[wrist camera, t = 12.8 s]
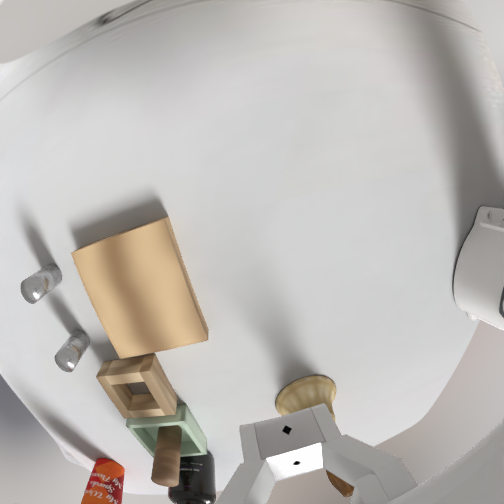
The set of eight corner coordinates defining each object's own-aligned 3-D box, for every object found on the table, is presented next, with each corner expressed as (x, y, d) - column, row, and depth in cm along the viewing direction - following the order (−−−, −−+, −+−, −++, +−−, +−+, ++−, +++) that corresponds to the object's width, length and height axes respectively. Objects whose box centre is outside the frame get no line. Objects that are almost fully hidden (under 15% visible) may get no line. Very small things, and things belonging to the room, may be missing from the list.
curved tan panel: (169, 215, 24) (164, 219, 22) (208, 327, 27) (208, 340, 25) (82, 246, 24) (71, 253, 21) (126, 346, 27) (120, 358, 25)
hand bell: (296, 368, 30) (344, 479, 15) (347, 380, 32) (402, 469, 16) (264, 412, 31) (289, 515, 16) (313, 420, 33) (350, 507, 18)
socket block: (155, 354, 27) (150, 370, 24) (177, 397, 29) (175, 414, 26) (103, 361, 27) (96, 376, 24) (129, 402, 28) (124, 418, 26)
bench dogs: (57, 261, 23) (32, 277, 18) (93, 346, 26) (77, 371, 21) (42, 266, 23) (17, 282, 18) (78, 348, 26) (62, 372, 21)
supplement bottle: (192, 441, 32) (192, 509, 20) (222, 458, 33) (228, 519, 22) (162, 453, 32) (156, 514, 20) (192, 469, 34) (193, 526, 22)
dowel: (176, 421, 29) (171, 475, 21) (185, 434, 30) (182, 486, 22) (155, 422, 29) (146, 475, 20) (164, 435, 30) (158, 486, 21)
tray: (186, 403, 29) (184, 420, 26) (206, 438, 32) (207, 454, 29) (130, 409, 29) (125, 425, 26) (155, 443, 31) (153, 457, 28)
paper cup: (127, 462, 32) (117, 524, 19) (131, 478, 34) (124, 533, 20) (87, 449, 31) (70, 508, 17) (95, 467, 33) (82, 520, 19)
